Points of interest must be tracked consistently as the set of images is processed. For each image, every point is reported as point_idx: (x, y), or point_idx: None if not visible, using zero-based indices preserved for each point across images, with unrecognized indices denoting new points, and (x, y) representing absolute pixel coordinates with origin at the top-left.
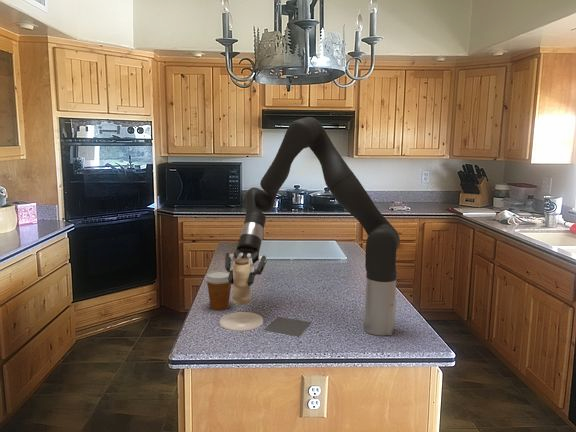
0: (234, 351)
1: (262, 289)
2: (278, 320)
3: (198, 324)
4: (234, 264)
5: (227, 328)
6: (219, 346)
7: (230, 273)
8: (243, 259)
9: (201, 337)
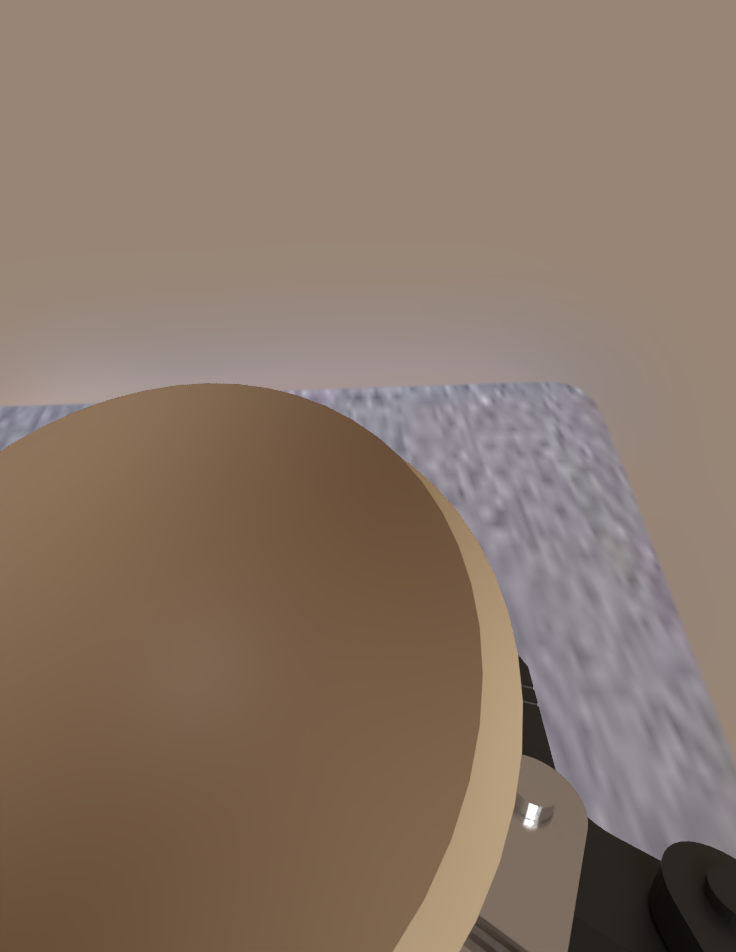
0: (357, 402)
1: None
2: None
3: (638, 704)
4: (431, 483)
5: None
6: (428, 437)
7: (524, 746)
8: (35, 731)
9: (542, 519)
